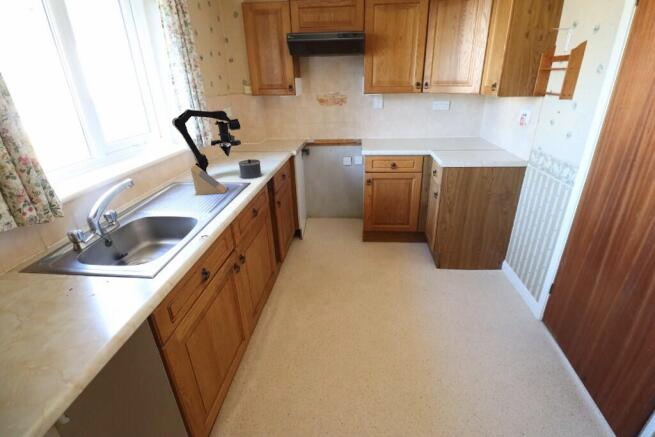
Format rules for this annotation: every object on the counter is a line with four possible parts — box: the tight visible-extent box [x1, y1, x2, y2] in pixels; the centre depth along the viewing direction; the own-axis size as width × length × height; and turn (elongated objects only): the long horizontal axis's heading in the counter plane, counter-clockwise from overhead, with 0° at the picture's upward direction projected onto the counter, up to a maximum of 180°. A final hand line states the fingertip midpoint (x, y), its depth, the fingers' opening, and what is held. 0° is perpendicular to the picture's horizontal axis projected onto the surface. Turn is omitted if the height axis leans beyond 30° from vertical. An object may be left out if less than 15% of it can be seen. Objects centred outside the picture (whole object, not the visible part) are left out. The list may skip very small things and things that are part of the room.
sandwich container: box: [190, 164, 228, 196], centre depth 177 cm, size 9×15×15 cm, turn 94°
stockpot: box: [238, 158, 262, 180], centre depth 205 cm, size 14×14×11 cm
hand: (228, 156), depth 207 cm, fingers closed
